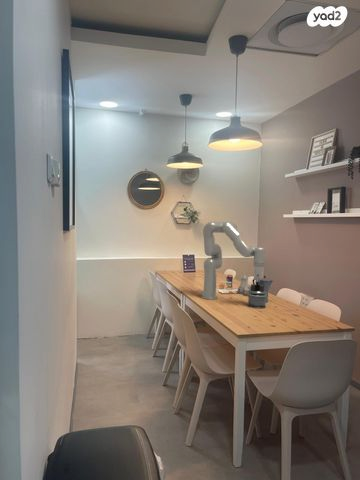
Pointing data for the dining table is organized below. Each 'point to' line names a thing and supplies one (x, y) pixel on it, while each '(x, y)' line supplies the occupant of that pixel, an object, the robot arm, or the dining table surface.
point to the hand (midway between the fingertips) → (257, 289)
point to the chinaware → (244, 286)
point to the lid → (257, 291)
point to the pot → (257, 300)
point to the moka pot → (265, 285)
